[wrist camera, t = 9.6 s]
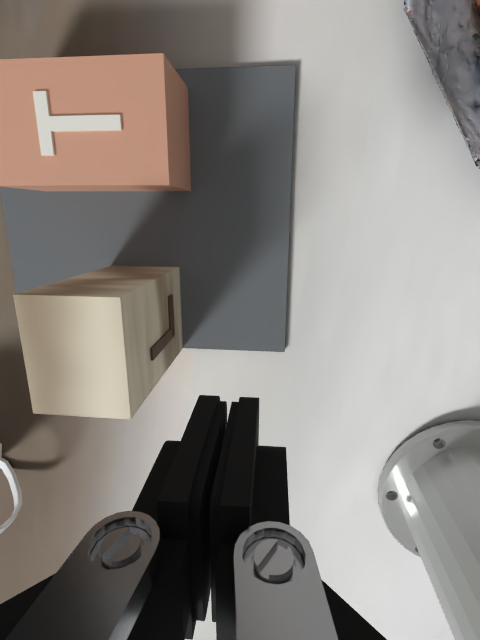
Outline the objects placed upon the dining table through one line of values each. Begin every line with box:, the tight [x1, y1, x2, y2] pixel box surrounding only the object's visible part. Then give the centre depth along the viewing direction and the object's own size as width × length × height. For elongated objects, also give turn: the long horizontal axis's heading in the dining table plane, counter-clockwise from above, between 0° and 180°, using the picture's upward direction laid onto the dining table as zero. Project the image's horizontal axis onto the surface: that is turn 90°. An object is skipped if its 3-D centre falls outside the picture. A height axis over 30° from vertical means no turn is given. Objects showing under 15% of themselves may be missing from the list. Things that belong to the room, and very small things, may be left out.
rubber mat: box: [0, 65, 296, 352], centre depth 25 cm, size 20×18×1 cm
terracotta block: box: [0, 53, 191, 191], centre depth 21 cm, size 5×6×10 cm
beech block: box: [13, 266, 183, 419], centre depth 22 cm, size 5×6×10 cm
